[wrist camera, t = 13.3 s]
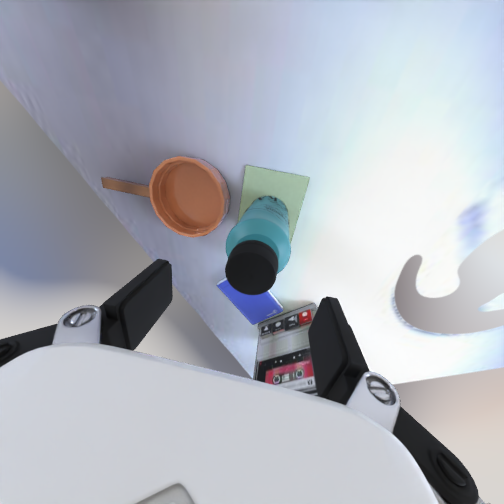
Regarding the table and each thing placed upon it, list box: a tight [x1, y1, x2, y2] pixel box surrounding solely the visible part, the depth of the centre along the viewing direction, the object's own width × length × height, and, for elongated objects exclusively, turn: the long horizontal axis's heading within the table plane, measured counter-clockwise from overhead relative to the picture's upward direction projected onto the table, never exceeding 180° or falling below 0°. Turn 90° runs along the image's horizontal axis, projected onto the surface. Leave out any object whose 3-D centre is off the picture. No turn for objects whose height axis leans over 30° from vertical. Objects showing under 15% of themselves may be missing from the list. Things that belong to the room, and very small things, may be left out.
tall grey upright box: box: [253, 303, 319, 397], centre depth 30 cm, size 14×6×25 cm, turn 123°
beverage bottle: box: [225, 195, 291, 295], centre depth 23 cm, size 6×7×20 cm
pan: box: [149, 156, 230, 237], centre depth 31 cm, size 12×12×4 cm
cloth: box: [238, 165, 310, 244], centre depth 32 cm, size 10×13×1 cm
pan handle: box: [101, 177, 150, 198], centre depth 30 cm, size 8×2×1 cm, turn 80°
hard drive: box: [217, 278, 283, 325], centre depth 39 cm, size 2×8×12 cm
